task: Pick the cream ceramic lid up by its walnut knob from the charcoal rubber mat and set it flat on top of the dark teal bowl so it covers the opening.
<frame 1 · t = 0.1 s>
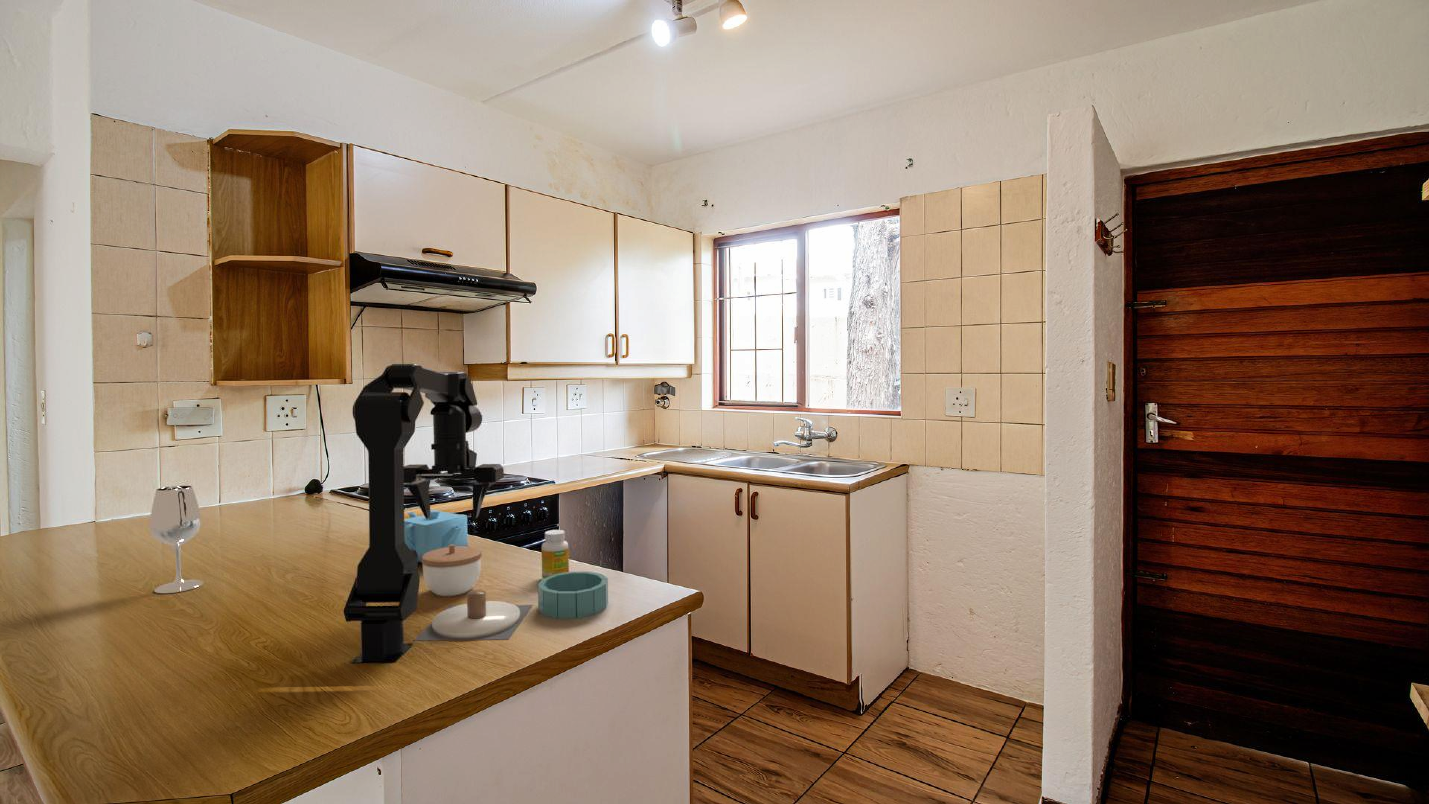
hand: (451, 517, 126), 15 cm above the counter, fingers open, 9 cm apart
wineglass: (179, 588, 131), on the counter
lidded jar: (453, 593, 127), on the counter
teapot: (434, 560, 149), on the counter
mat: (477, 624, 111), on the counter
lid: (477, 621, 111), resting on mat
supplement bottle: (555, 579, 135), on the counter
bowl: (573, 609, 119), on the counter
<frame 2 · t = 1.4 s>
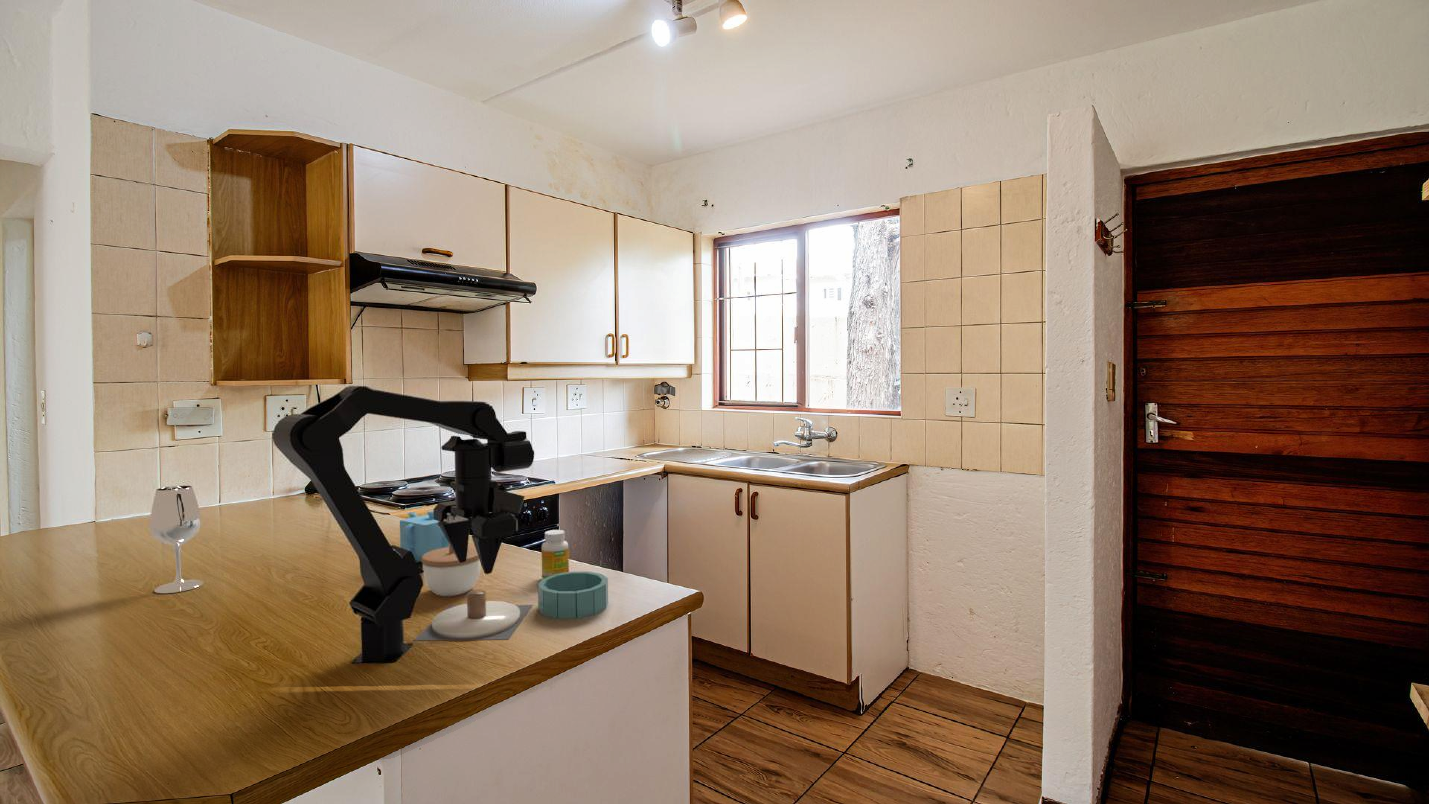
hand: (475, 567, 111), 10 cm above the counter, fingers open, 9 cm apart
nothing on the counter moved.
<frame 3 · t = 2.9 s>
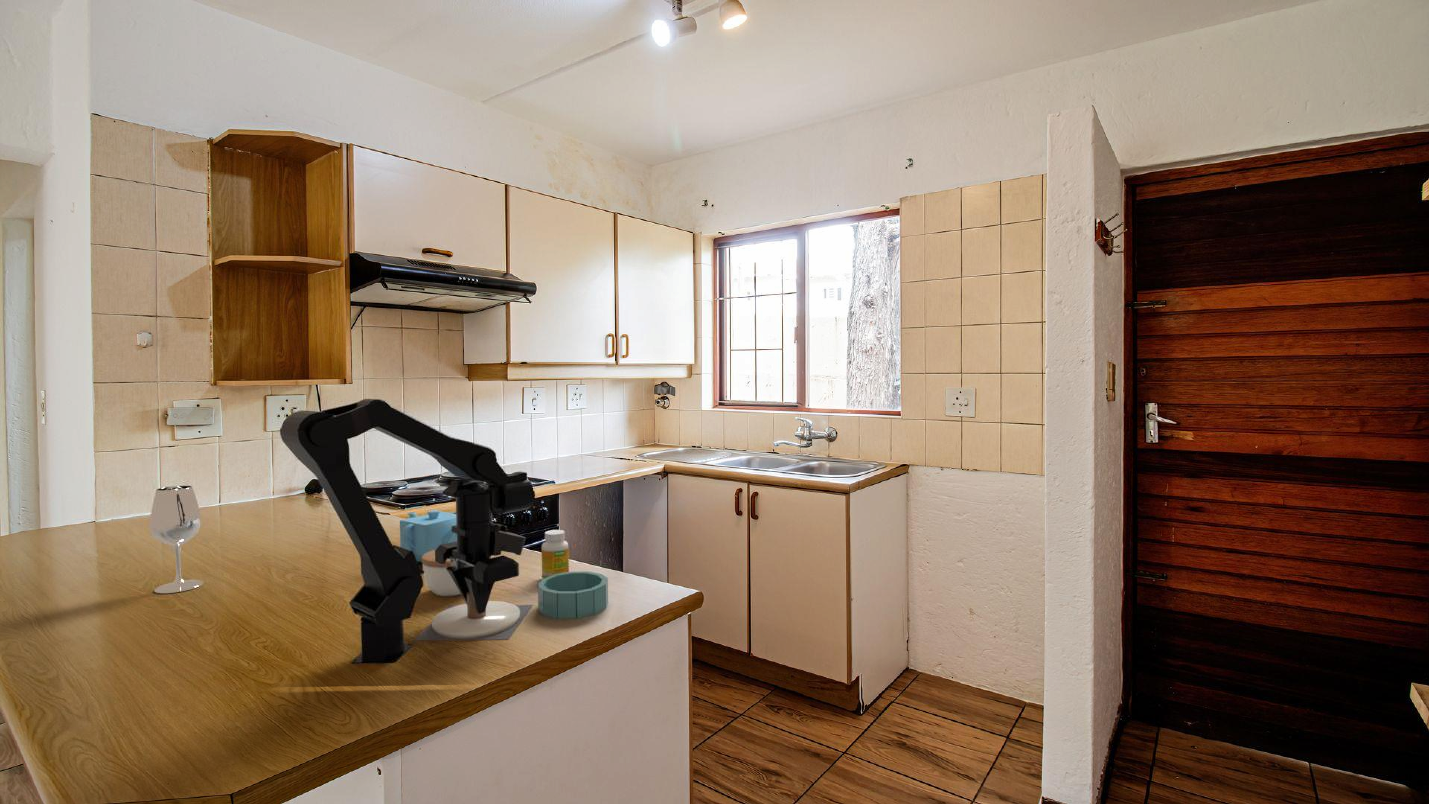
hand: (476, 610, 111), 2 cm above the counter, fingers closed on lid, 3 cm apart
lid: (476, 621, 111), resting on mat, touching gripper
everything else where it was.
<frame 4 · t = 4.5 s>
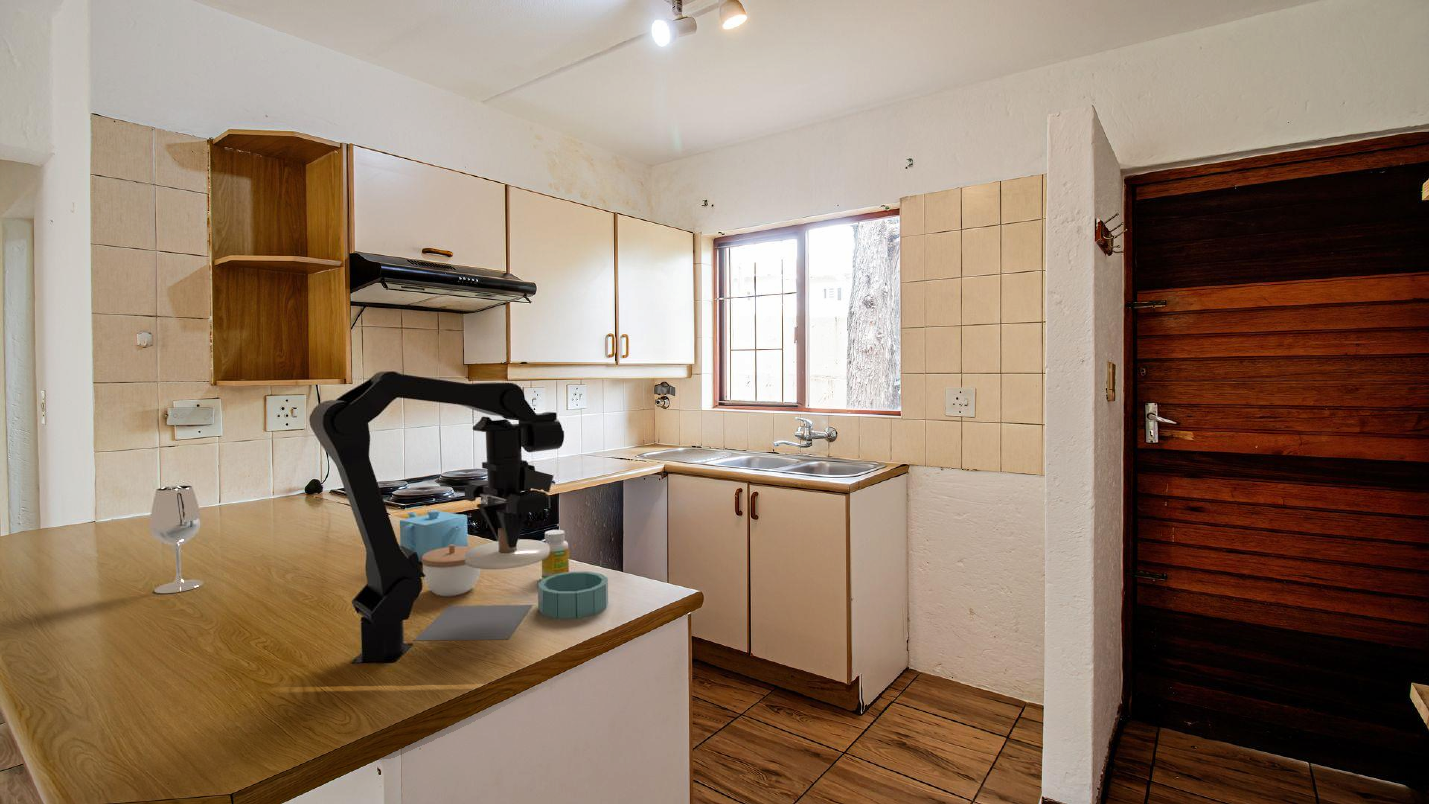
hand: (507, 545, 113), 13 cm above the counter, fingers closed on lid, 3 cm apart
lid: (508, 556, 113), point 11 cm above the counter, touching gripper
everything else where it was.
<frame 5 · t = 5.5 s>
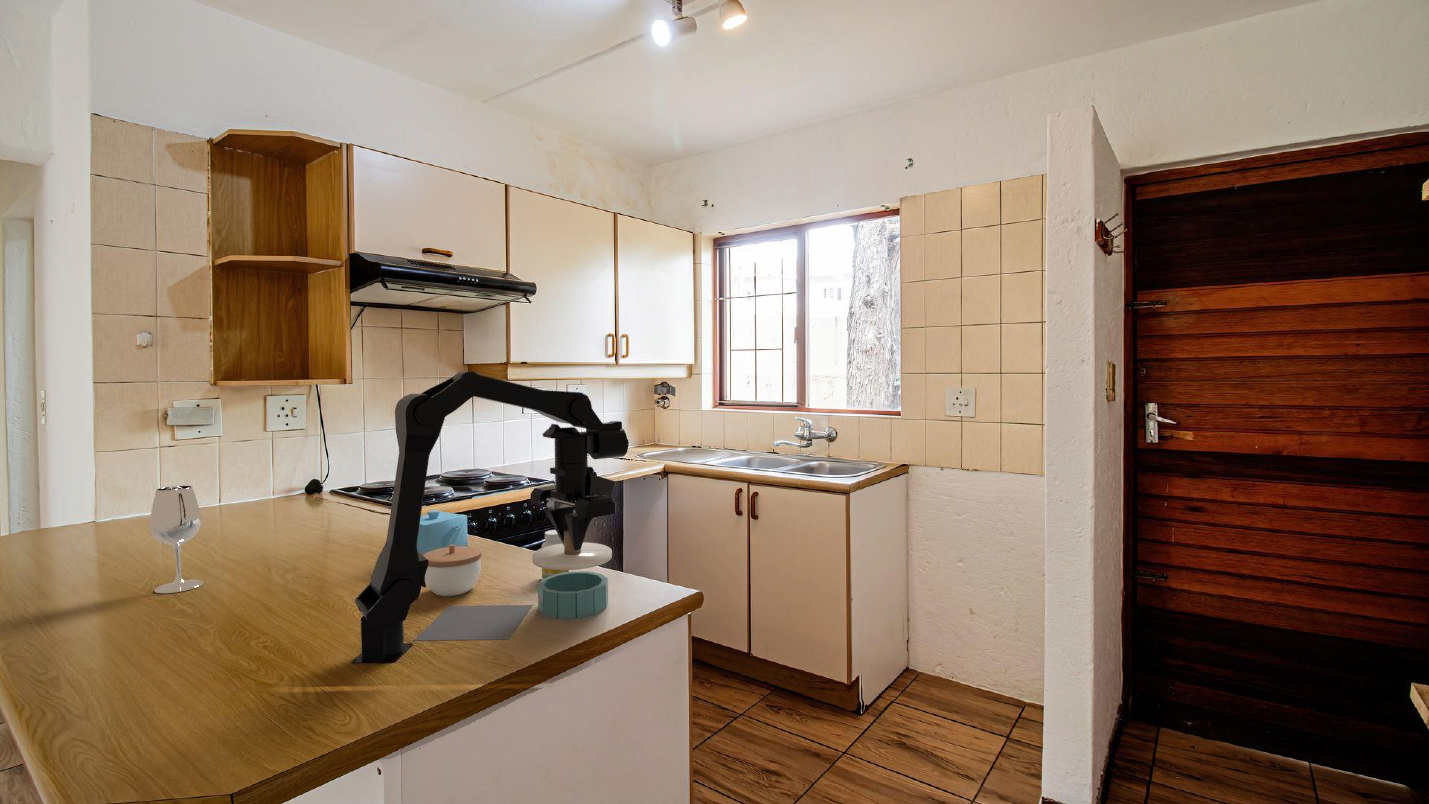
hand: (572, 548, 118), 11 cm above the counter, fingers closed on lid, 3 cm apart
lid: (572, 558, 118), point 9 cm above the counter, touching gripper
everything else where it was.
when the fingers open (8 cm above the counter, at t = 6.2 s): lid drops 1 cm, resting on bowl.
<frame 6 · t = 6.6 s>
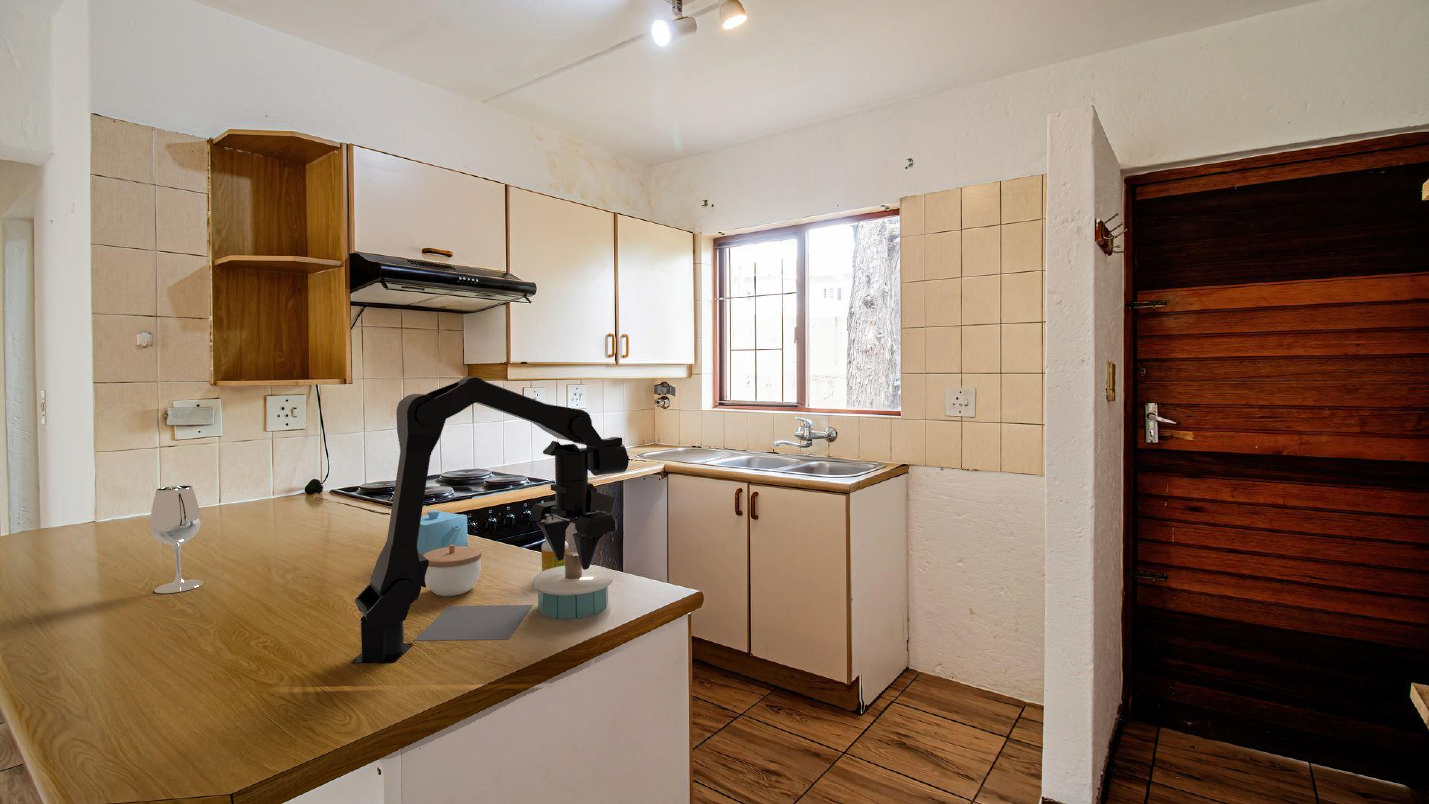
hand: (572, 564, 118), 8 cm above the counter, fingers open, 8 cm apart
lid: (573, 581, 118), point 5 cm above the counter, touching bowl
bowl: (573, 609, 119), on the counter, touching lid
everything else where it was.
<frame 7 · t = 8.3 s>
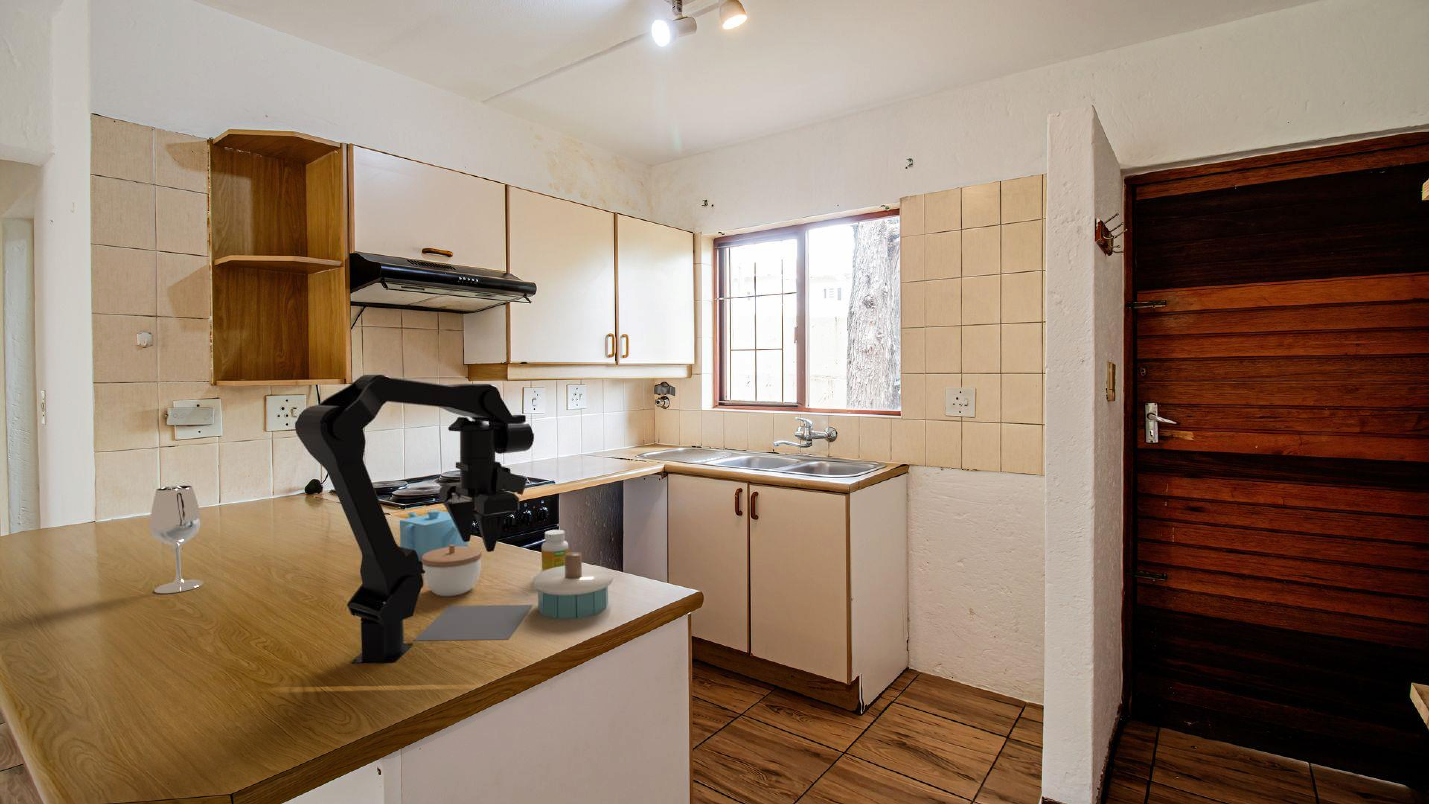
hand: (478, 546, 113), 13 cm above the counter, fingers open, 9 cm apart
nothing on the counter moved.
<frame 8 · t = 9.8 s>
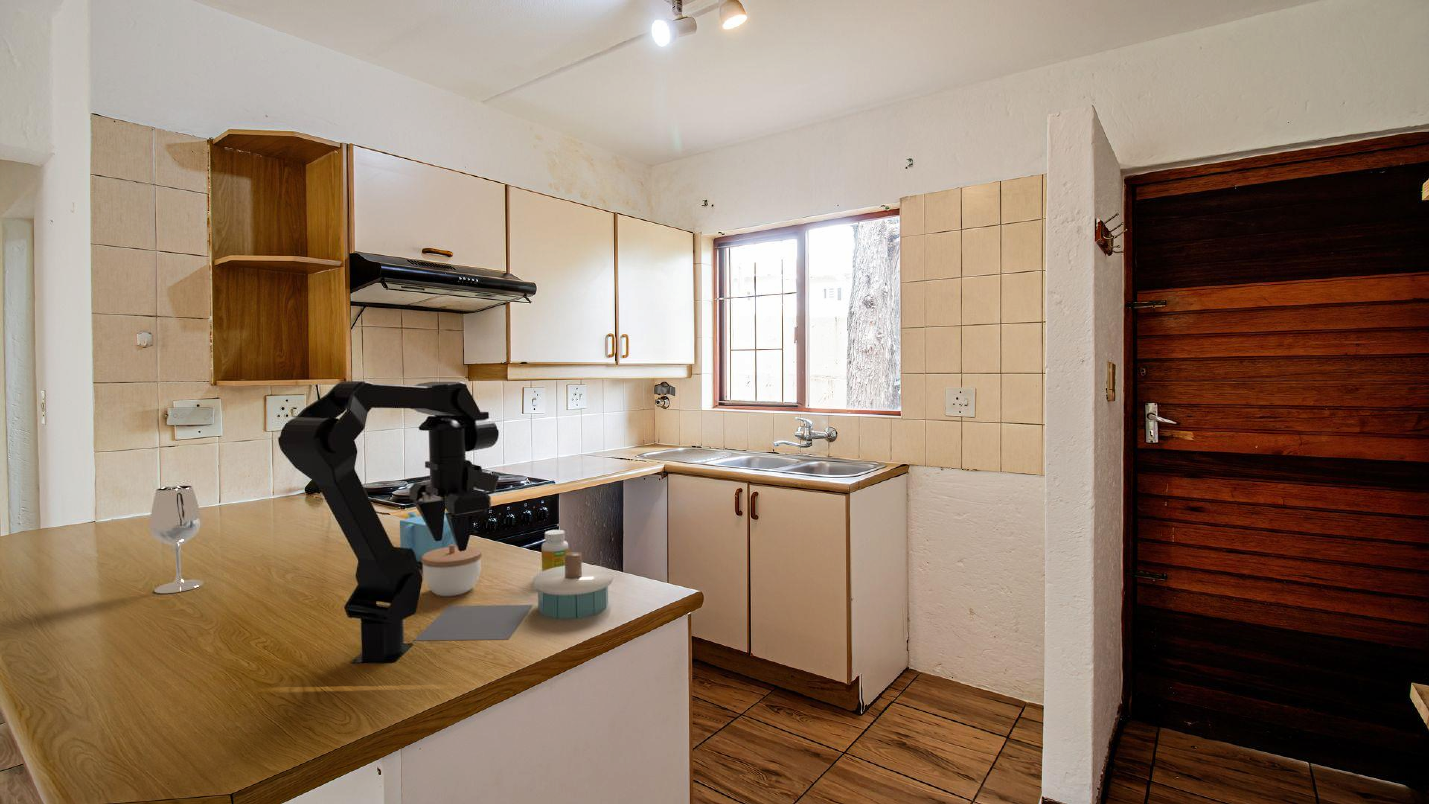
hand: (450, 545, 112), 13 cm above the counter, fingers open, 9 cm apart
nothing on the counter moved.
at the end: lid 0.0 cm from the bowl (horizontally); lid point 4.8 cm above the counter; lid tilted 0° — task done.
